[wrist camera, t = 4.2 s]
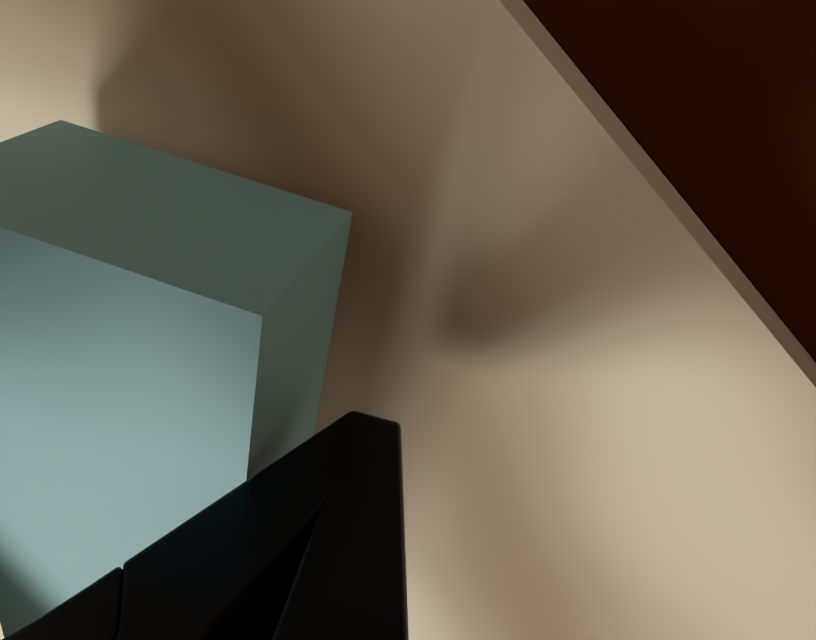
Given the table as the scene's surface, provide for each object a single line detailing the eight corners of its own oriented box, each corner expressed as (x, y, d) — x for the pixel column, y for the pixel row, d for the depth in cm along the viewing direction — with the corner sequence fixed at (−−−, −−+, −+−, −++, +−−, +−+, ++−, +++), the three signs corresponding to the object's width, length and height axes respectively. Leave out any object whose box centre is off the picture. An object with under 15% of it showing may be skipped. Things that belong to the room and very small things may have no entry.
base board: (261, 810, 23) (245, 851, 22) (-394, 337, 18) (-453, 362, 17) (1053, 657, 11) (1098, 734, 10) (-307, -1028, 5) (-510, -1234, 4)
